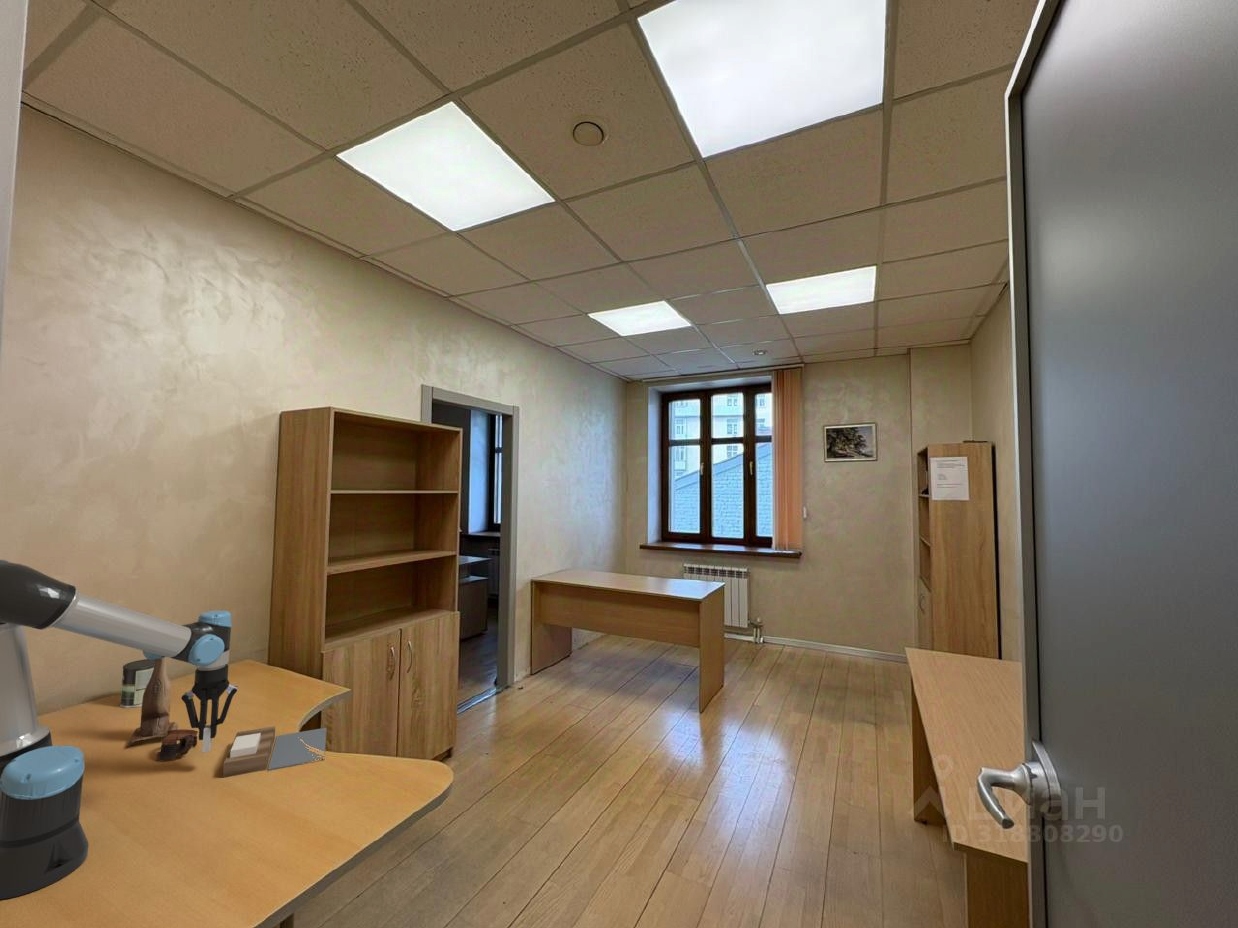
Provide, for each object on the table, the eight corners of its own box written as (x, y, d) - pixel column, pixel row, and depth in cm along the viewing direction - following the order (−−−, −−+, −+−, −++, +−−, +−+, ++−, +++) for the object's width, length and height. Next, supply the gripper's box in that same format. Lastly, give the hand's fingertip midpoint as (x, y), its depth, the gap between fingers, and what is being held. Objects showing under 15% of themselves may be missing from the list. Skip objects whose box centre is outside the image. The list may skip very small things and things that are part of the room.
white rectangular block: (255, 753, 148) (256, 746, 148) (230, 757, 145) (230, 750, 146) (260, 739, 156) (260, 732, 156) (236, 743, 153) (236, 736, 154)
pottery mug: (144, 761, 150) (157, 730, 155) (179, 763, 158) (190, 732, 162) (171, 758, 147) (183, 726, 151) (205, 760, 154) (215, 729, 159)
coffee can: (114, 709, 182) (117, 669, 183) (127, 698, 191) (130, 660, 192) (151, 705, 186) (154, 666, 187) (162, 694, 196) (165, 657, 196)
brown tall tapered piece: (125, 752, 155) (134, 645, 156) (132, 735, 165) (140, 634, 166) (174, 742, 162) (182, 640, 163) (178, 726, 171) (185, 630, 172)
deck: (266, 769, 147) (267, 755, 147) (222, 777, 143) (223, 762, 143) (274, 738, 165) (275, 725, 165) (236, 745, 160) (237, 731, 160)
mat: (324, 759, 153) (324, 758, 153) (267, 770, 147) (267, 769, 147) (326, 728, 173) (326, 727, 173) (276, 736, 166) (277, 735, 166)
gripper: (242, 659, 154) (237, 739, 153) (186, 665, 148) (181, 748, 147) (237, 667, 148) (232, 751, 146) (179, 673, 141) (173, 761, 140)
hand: (206, 749), depth 147 cm, fingers closed
